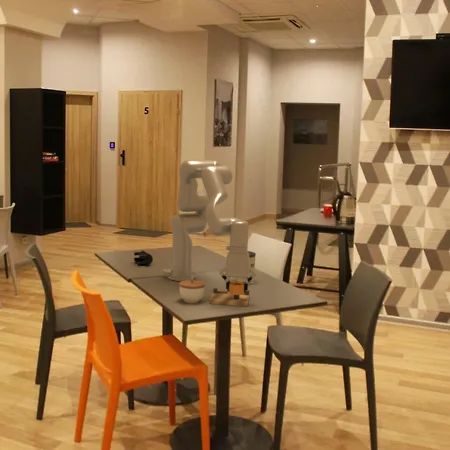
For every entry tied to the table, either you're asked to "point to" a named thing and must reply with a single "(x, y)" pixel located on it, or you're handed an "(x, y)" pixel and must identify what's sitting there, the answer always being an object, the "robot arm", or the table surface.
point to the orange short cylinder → (236, 288)
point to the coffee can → (252, 266)
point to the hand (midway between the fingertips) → (236, 290)
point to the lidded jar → (191, 290)
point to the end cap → (143, 258)
